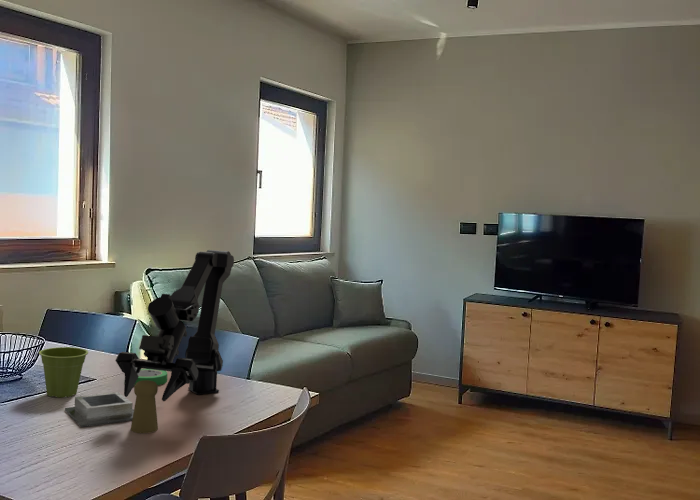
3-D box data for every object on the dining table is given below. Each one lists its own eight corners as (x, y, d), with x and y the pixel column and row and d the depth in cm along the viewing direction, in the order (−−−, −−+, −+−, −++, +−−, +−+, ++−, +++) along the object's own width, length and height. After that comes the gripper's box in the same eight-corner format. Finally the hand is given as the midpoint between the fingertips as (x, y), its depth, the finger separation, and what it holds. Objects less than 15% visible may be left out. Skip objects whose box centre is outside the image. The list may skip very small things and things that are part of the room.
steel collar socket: (122, 403, 176) (123, 389, 176) (142, 418, 165) (142, 404, 165) (64, 410, 168) (65, 395, 168) (81, 427, 157) (81, 411, 157)
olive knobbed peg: (150, 434, 155) (152, 386, 154) (125, 431, 156) (127, 383, 155) (162, 426, 161) (164, 379, 160) (138, 423, 162) (140, 376, 161)
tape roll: (119, 381, 198) (119, 371, 198) (152, 375, 206) (153, 366, 206) (140, 389, 191) (141, 379, 191) (174, 383, 199) (175, 374, 199)
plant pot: (56, 403, 173) (58, 359, 172) (27, 394, 179) (29, 351, 178) (96, 394, 183) (97, 352, 182) (67, 385, 189) (69, 344, 188)
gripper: (121, 317, 163) (93, 374, 153) (195, 324, 160) (172, 383, 149) (136, 344, 171) (110, 400, 161) (207, 352, 168) (186, 409, 158)
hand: (144, 398), depth 157 cm, fingers open, 9 cm apart
